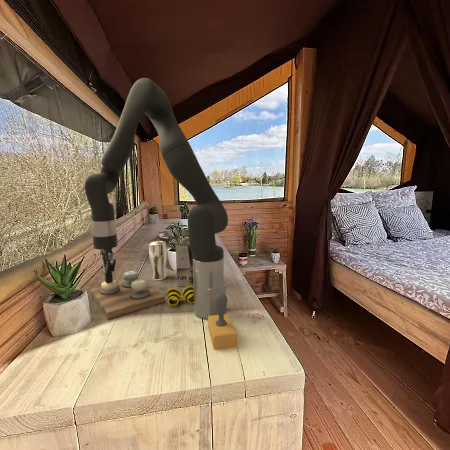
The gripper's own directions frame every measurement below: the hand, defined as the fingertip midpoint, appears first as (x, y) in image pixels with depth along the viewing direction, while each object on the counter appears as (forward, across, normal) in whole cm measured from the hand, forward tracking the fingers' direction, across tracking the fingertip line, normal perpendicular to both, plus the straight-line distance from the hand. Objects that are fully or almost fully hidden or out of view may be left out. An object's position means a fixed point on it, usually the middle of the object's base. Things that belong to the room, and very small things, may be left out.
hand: (109, 282), depth 95 cm
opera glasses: (+6, -20, -18) cm, 27 cm away
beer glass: (+6, +6, -21) cm, 22 cm away
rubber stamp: (+6, -44, -16) cm, 47 cm away
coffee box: (+6, -6, -28) cm, 29 cm away
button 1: (+2, 0, 0) cm, 2 cm away
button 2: (+1, -10, -7) cm, 12 cm away
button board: (+5, -5, -4) cm, 8 cm away
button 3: (+1, +1, -8) cm, 8 cm away
